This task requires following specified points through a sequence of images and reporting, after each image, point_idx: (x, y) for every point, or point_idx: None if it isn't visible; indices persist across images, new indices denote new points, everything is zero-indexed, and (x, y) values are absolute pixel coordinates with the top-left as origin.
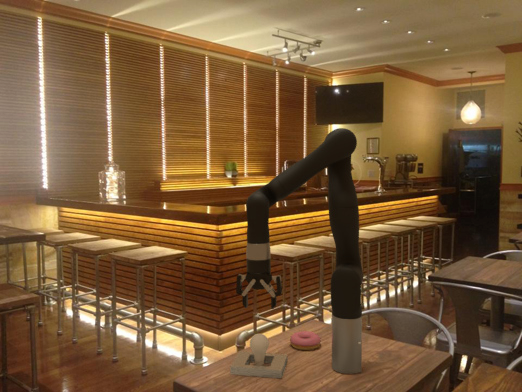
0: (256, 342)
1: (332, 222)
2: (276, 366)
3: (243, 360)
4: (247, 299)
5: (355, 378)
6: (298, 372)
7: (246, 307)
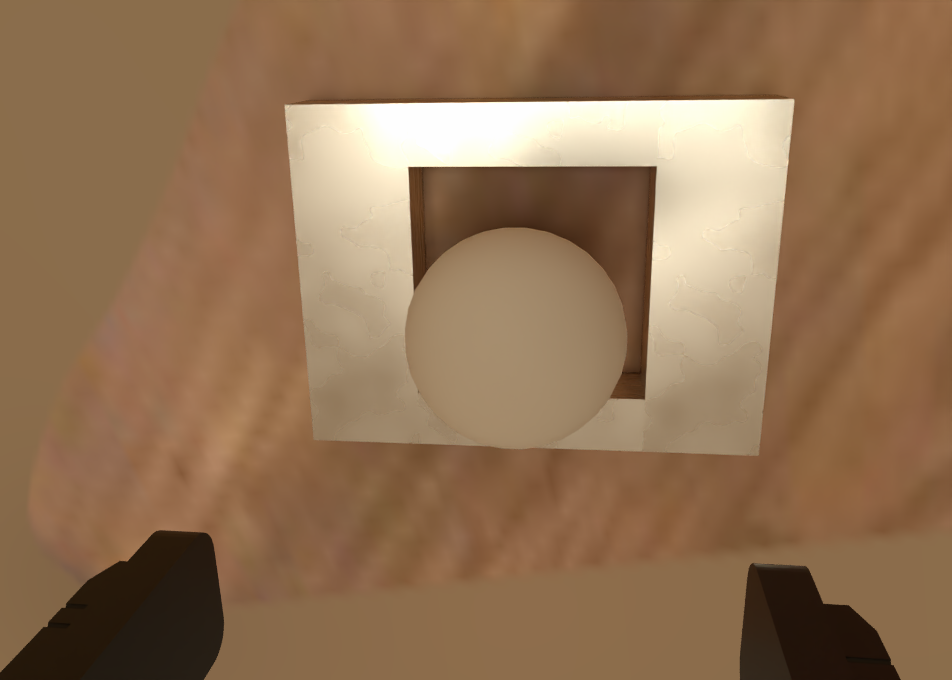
0: (498, 446)
1: None
2: (703, 386)
3: (384, 312)
4: (136, 663)
5: None
6: (887, 294)
7: (217, 649)
